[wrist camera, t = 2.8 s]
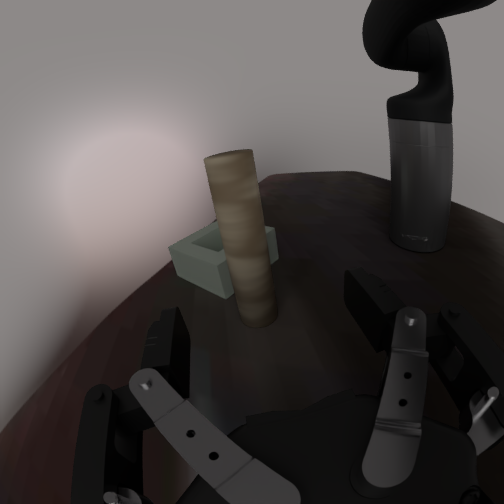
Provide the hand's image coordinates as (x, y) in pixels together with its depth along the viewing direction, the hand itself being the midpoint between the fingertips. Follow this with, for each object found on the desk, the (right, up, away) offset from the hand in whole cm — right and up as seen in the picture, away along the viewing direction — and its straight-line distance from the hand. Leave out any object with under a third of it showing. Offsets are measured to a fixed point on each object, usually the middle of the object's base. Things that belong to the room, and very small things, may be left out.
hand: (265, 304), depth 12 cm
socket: (-4, 0, +24) cm, 25 cm away
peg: (0, -4, +15) cm, 16 cm away
